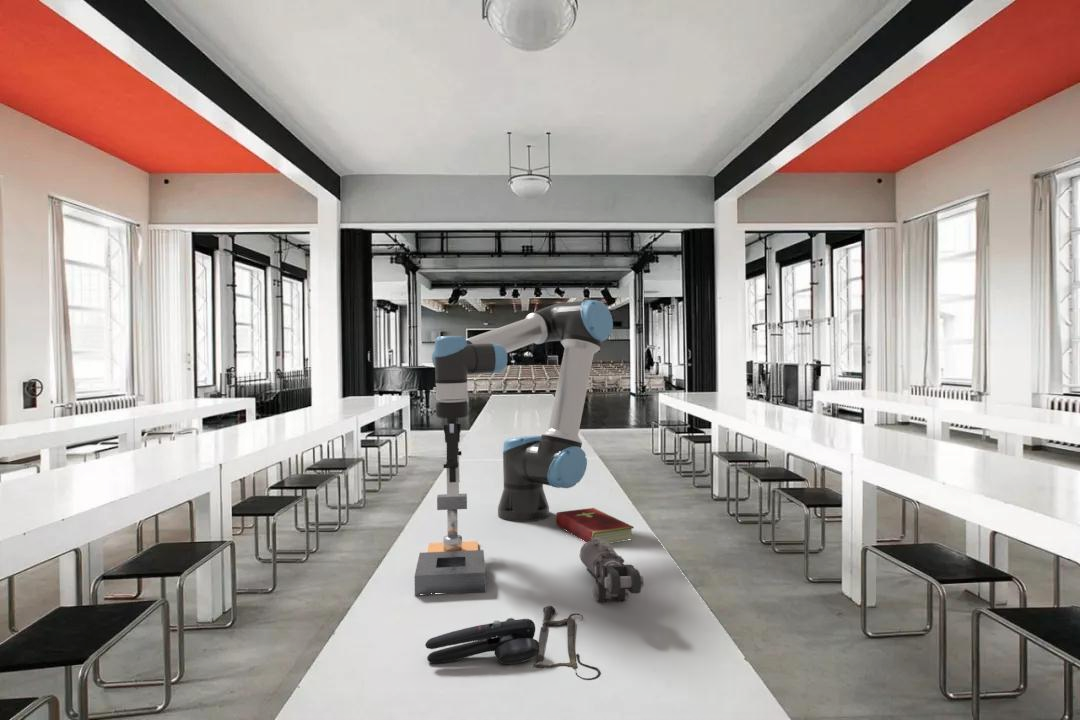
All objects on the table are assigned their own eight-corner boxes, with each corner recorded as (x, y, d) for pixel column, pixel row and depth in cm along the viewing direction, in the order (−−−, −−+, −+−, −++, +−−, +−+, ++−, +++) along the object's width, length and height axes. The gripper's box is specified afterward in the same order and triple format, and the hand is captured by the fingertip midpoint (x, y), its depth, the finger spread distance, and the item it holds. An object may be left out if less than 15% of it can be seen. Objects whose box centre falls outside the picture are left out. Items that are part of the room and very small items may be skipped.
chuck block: (483, 567, 138) (483, 549, 137) (485, 592, 124) (485, 572, 124) (419, 570, 136) (419, 552, 136) (414, 595, 122) (414, 575, 122)
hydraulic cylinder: (609, 620, 105) (606, 560, 107) (575, 577, 141) (573, 532, 143) (650, 618, 106) (647, 558, 107) (606, 576, 142) (604, 531, 144)
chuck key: (467, 546, 150) (466, 492, 150) (467, 551, 146) (466, 497, 146) (438, 547, 149) (437, 494, 149) (437, 553, 145) (436, 498, 145)
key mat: (477, 544, 154) (477, 541, 154) (478, 560, 142) (478, 556, 142) (429, 546, 153) (429, 543, 153) (426, 562, 141) (425, 559, 141)
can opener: (535, 643, 102) (534, 609, 102) (541, 663, 95) (540, 627, 95) (426, 652, 99) (426, 617, 99) (424, 673, 92) (424, 636, 93)
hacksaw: (542, 610, 115) (542, 603, 115) (597, 613, 115) (597, 605, 114) (531, 685, 91) (531, 675, 91) (600, 688, 90) (600, 679, 90)
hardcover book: (592, 548, 152) (592, 531, 152) (555, 526, 171) (555, 511, 171) (633, 542, 157) (633, 525, 157) (593, 521, 176) (593, 506, 176)
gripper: (438, 396, 159) (440, 478, 160) (433, 406, 134) (435, 502, 135) (467, 395, 160) (469, 476, 160) (467, 405, 135) (469, 501, 136)
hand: (453, 488), depth 148 cm, fingers open, 13 cm apart
